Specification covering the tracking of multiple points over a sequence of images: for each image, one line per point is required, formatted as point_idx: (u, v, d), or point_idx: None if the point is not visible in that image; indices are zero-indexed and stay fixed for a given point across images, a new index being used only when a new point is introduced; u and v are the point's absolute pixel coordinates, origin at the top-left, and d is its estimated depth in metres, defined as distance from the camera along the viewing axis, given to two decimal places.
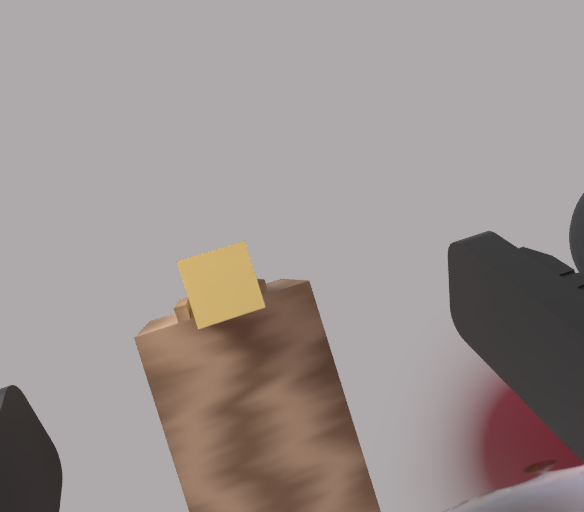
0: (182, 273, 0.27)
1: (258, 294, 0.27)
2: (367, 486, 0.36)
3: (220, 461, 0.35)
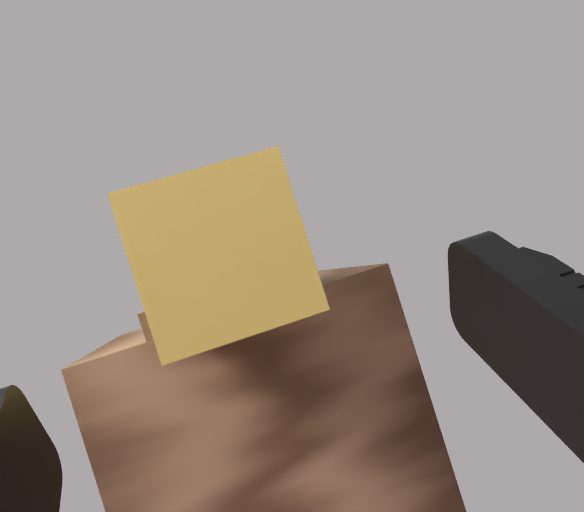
0: (121, 224, 0.11)
1: (312, 278, 0.11)
2: None
3: None
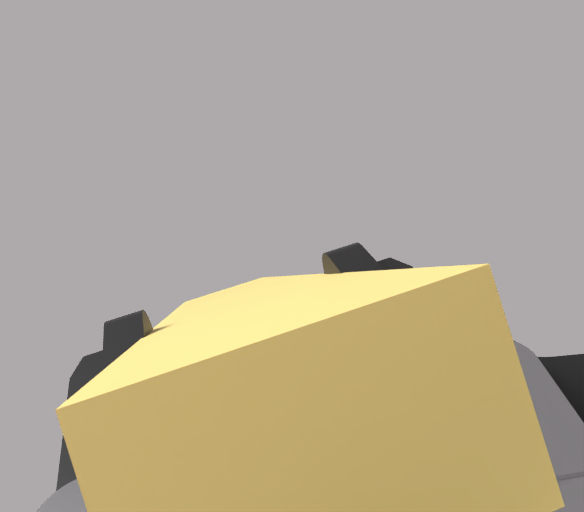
0: (94, 492, 0.04)
1: None
2: None
3: None
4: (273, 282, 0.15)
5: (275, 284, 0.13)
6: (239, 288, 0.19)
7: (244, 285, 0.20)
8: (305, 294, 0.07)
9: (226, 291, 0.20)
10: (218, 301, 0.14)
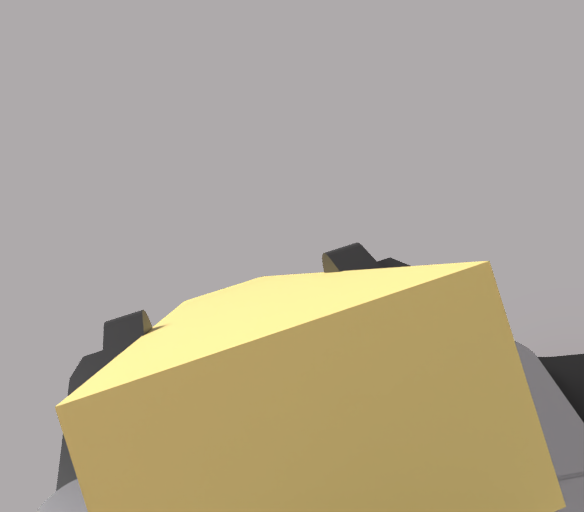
0: (94, 489, 0.04)
1: None
2: None
3: None
4: (273, 281, 0.15)
5: (275, 283, 0.13)
6: (239, 287, 0.19)
7: (244, 284, 0.20)
8: (305, 292, 0.07)
9: (226, 290, 0.20)
10: (218, 300, 0.13)
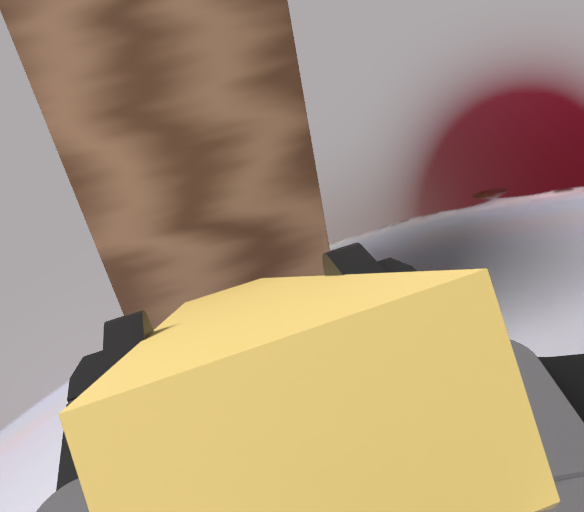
0: (97, 495, 0.04)
1: None
2: (307, 157, 0.28)
3: (103, 97, 0.24)
4: (273, 283, 0.15)
5: (275, 285, 0.13)
6: (239, 289, 0.19)
7: (244, 286, 0.20)
8: (305, 297, 0.07)
9: (226, 292, 0.20)
10: (218, 302, 0.14)
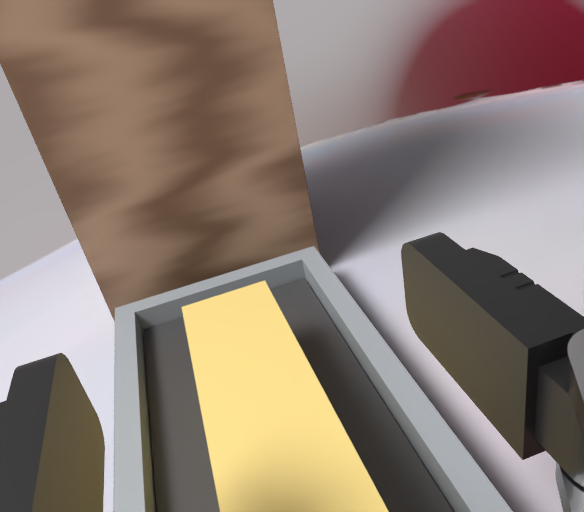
0: None
1: None
2: None
3: None
4: (325, 445, 0.14)
5: (342, 495, 0.12)
6: (262, 364, 0.17)
7: (259, 333, 0.19)
8: None
9: (242, 345, 0.18)
10: (276, 493, 0.13)
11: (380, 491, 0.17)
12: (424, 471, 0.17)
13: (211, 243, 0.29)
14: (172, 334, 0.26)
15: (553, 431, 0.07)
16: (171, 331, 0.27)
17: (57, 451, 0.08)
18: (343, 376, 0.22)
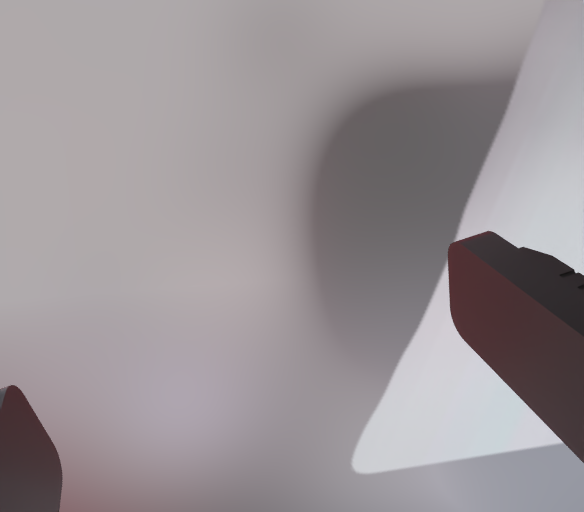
0: None
1: None
2: None
3: None
4: None
5: None
6: None
7: None
8: None
9: None
10: None
11: None
12: None
13: None
14: None
15: None
16: None
17: None
18: None
